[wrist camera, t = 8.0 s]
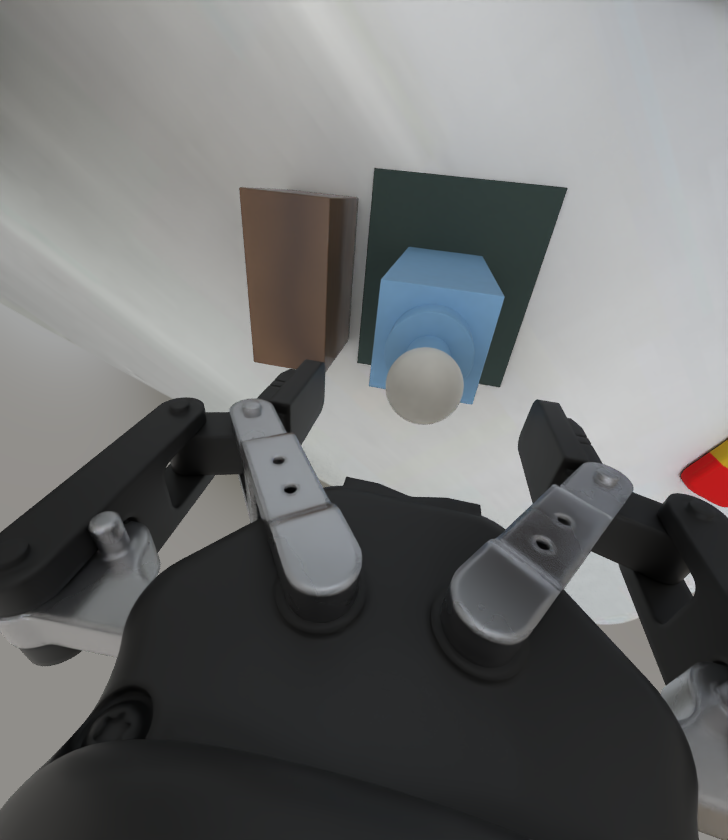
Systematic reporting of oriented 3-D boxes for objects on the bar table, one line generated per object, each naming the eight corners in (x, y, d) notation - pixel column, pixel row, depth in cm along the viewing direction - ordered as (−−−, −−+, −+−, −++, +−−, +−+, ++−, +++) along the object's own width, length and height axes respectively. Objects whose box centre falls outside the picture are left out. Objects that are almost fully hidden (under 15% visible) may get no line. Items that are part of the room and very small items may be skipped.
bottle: (462, 249, 31) (695, 324, 16) (447, 318, 34) (627, 434, 19) (306, 240, 26) (418, 330, 11) (306, 319, 30) (393, 471, 15)
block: (290, 331, 36) (253, 362, 29) (287, 189, 29) (238, 186, 22) (348, 341, 35) (324, 374, 28) (358, 197, 28) (329, 197, 22)
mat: (358, 361, 36) (357, 362, 36) (375, 168, 27) (374, 168, 27) (499, 385, 34) (499, 387, 34) (566, 188, 25) (567, 187, 25)
